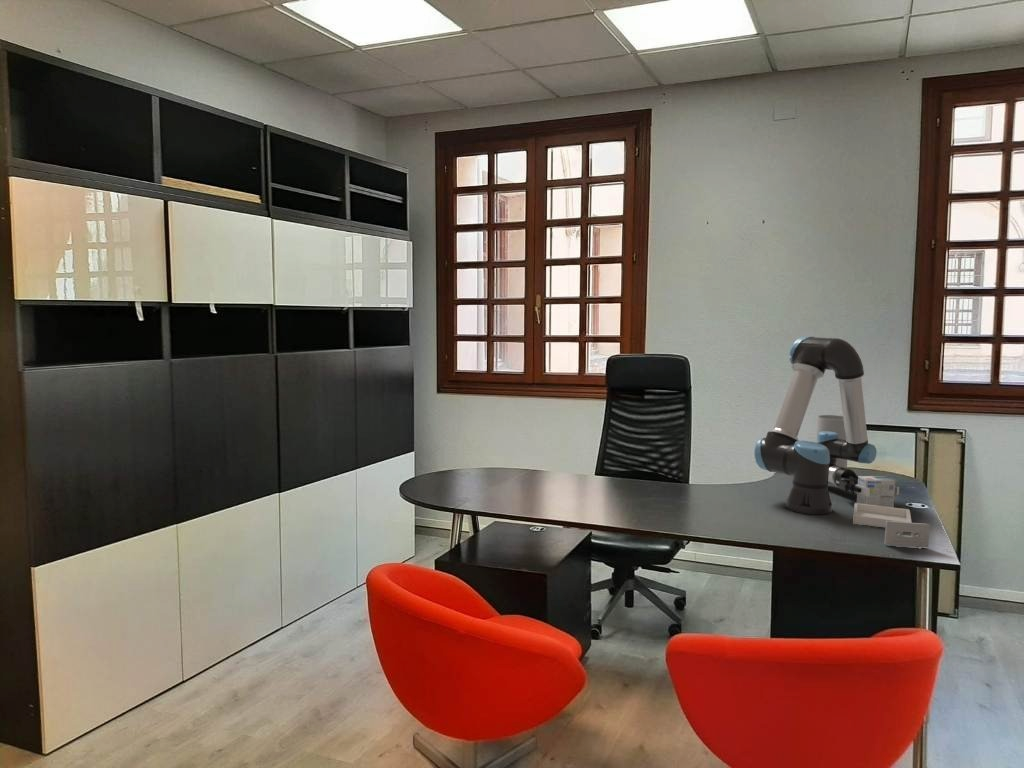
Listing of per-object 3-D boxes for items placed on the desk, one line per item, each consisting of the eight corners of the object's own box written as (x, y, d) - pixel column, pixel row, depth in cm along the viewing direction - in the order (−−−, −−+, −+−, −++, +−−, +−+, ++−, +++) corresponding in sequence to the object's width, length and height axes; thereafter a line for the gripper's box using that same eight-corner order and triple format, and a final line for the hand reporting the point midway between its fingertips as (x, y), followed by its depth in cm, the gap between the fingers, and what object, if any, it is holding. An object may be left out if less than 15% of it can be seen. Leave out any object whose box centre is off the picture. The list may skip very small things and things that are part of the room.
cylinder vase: (820, 471, 321) (824, 414, 318) (850, 476, 312) (854, 417, 309) (809, 475, 312) (812, 417, 309) (839, 481, 303) (843, 420, 300)
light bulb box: (884, 504, 270) (886, 475, 268) (894, 509, 263) (896, 480, 262) (855, 504, 269) (857, 475, 268) (864, 509, 263) (866, 479, 261)
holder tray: (911, 531, 238) (911, 522, 238) (852, 524, 245) (853, 515, 245) (908, 517, 253) (909, 509, 253) (854, 511, 260) (854, 502, 260)
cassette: (926, 548, 223) (928, 523, 222) (928, 550, 221) (930, 525, 220) (883, 544, 225) (885, 520, 225) (885, 546, 224) (886, 522, 223)
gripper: (867, 485, 286) (911, 500, 265) (814, 488, 280) (853, 504, 259) (869, 466, 285) (912, 479, 264) (815, 469, 279) (855, 483, 258)
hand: (883, 491), depth 262 cm, fingers closed on light bulb box, 11 cm apart
